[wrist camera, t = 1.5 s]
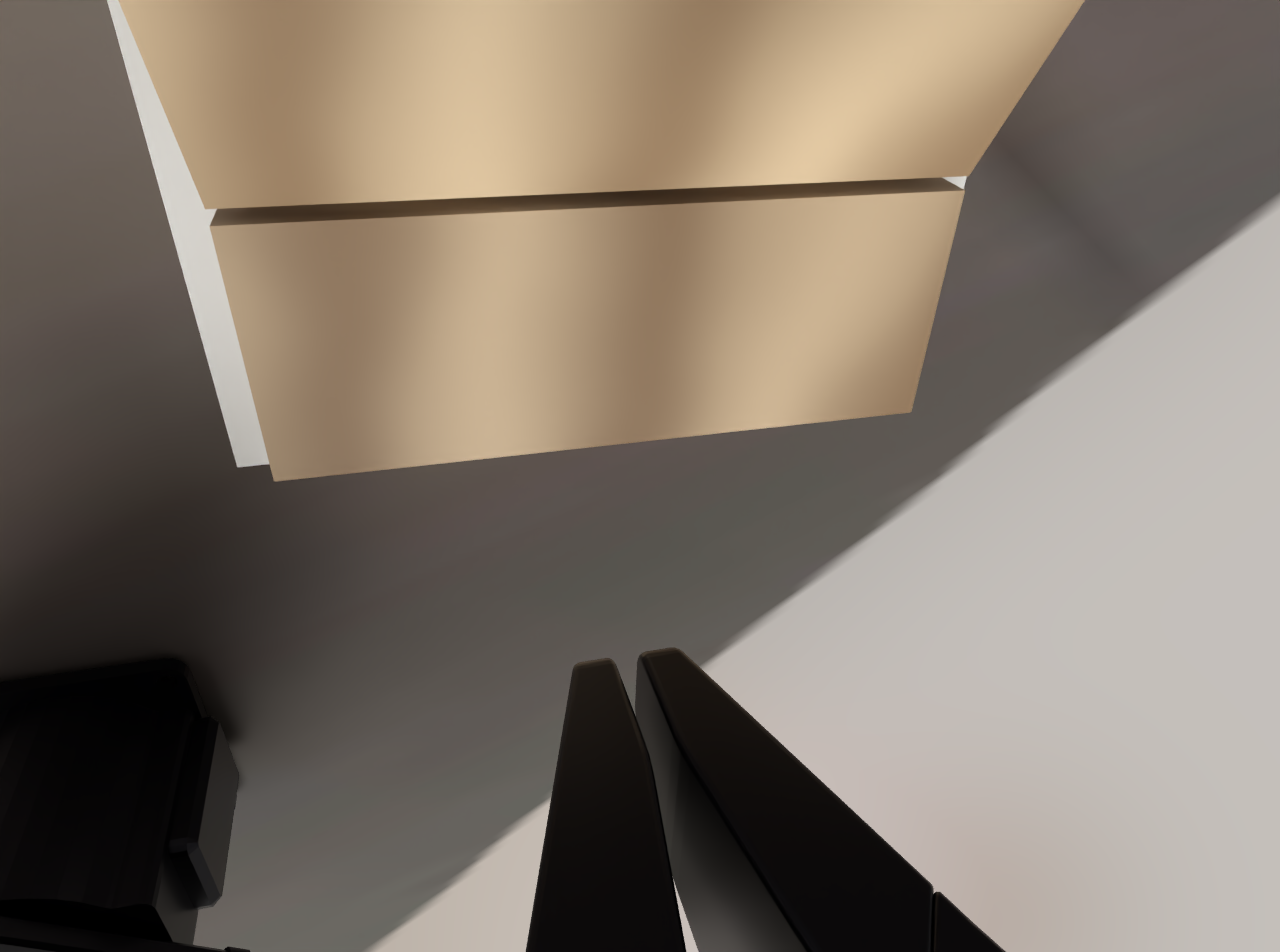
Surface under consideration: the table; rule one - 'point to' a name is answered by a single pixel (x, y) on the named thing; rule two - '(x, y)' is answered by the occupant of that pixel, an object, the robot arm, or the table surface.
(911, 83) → the raised plank
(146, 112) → the board
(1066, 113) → the table surface
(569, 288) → the laid plank
